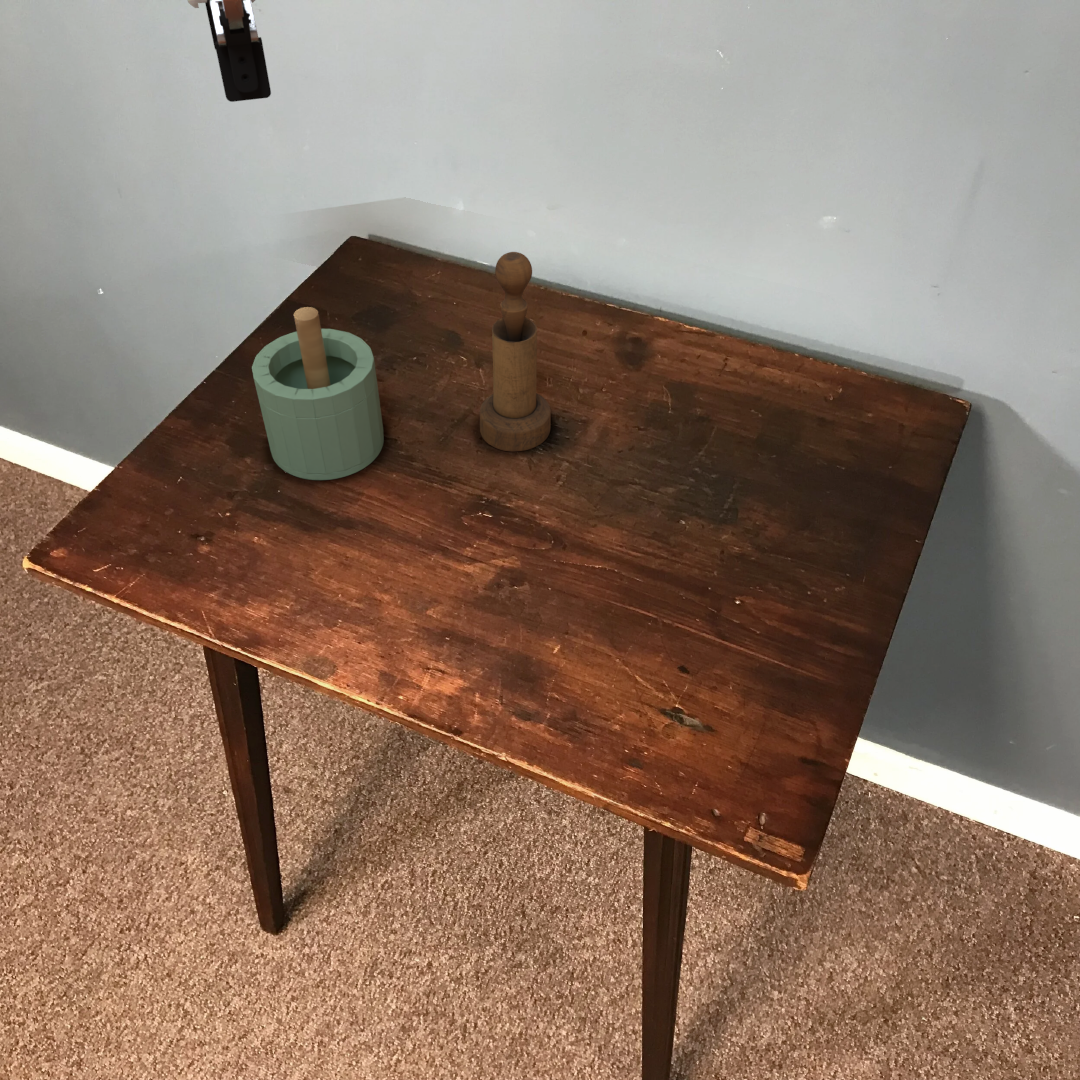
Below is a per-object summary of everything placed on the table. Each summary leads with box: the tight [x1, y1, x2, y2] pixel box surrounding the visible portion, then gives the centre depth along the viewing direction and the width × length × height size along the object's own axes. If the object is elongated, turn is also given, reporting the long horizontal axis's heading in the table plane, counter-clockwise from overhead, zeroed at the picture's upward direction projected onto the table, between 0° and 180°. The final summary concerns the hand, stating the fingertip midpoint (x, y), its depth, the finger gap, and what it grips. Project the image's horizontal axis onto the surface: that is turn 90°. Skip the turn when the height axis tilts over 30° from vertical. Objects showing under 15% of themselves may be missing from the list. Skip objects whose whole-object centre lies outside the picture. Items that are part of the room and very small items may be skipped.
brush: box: [293, 306, 331, 389], centre depth 90 cm, size 5×3×13 cm, turn 64°
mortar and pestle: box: [479, 251, 552, 453], centre depth 90 cm, size 7×6×18 cm
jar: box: [251, 328, 385, 481], centre depth 92 cm, size 10×10×9 cm
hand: (242, 72), depth 78 cm, fingers open, 9 cm apart
